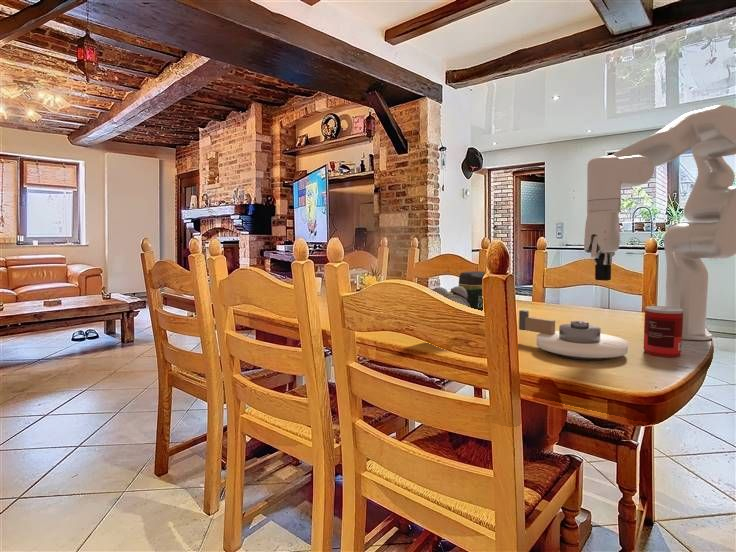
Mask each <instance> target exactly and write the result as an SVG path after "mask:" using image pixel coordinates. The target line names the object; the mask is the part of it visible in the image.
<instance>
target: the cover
mask: <svg viewBox="0 0 736 552" xmlns="http://www.w3.org/2000/svg"><path fill="white" fill-rule="evenodd" d="M558 327H559V328H558V329H559V330H558V331H559V339H560V340H563V341H566V342H571V343H580V344H594V343H599V342H600V334H601V329H602V328H600V327H599V326H596V325H591V324H590V322H588V321H583V320H572V321H570V323H565V324H560V325H559V326H558Z"/></svg>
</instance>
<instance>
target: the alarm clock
mask: <svg viewBox="0 0 736 552" xmlns="http://www.w3.org/2000/svg"><path fill="white" fill-rule="evenodd" d="M432 291H435V292H437V293H439V294H441V295H443V296H444V297H446V298H448V299H450V300H452V301H455V302H457V303H460V304H463V305H466V306H468V307H470V305H469V303H468V302H467V300H466V299H467V297H468V294H467V291H466V290H465V289H464V287H463V286H461V287H460V286H459V285H458V286H454V287H451V288H450V292H448V290H447V289H446V288H445V287H442V286H441V287H440V286H439V287H438V286H437V287H435V288H433V290H432Z"/></svg>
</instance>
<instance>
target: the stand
mask: <svg viewBox="0 0 736 552" xmlns="http://www.w3.org/2000/svg"><path fill="white" fill-rule="evenodd" d="M550 353H551V354H552V355H555V356H558V357H561V358H565V359H571V360H578V361H605V360H610V359H612V358H613V357H610V358H588V357H576V356H569V355H562V354H557V353H553V352H550Z"/></svg>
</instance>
